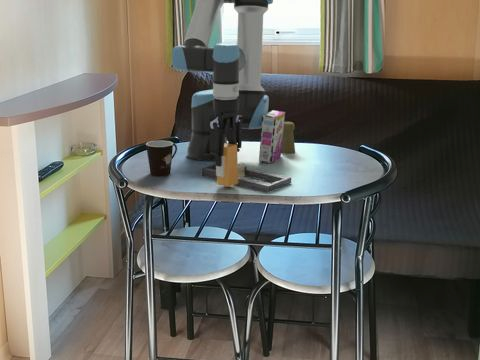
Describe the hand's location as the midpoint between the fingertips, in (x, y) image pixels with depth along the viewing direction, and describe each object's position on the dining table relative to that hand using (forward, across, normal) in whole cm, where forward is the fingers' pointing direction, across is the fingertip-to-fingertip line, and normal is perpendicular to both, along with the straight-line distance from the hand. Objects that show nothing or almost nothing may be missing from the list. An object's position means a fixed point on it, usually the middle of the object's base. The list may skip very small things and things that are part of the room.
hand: (225, 174), depth 204 cm
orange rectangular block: (+3, 0, -1) cm, 3 cm away
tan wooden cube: (+4, +10, +4) cm, 12 cm away
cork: (+4, +48, +11) cm, 49 cm away
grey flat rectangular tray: (+4, +10, -4) cm, 12 cm away
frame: (+4, +10, +9) cm, 14 cm away
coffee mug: (+4, -1, +25) cm, 25 cm away
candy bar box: (+4, +35, +9) cm, 36 cm away
